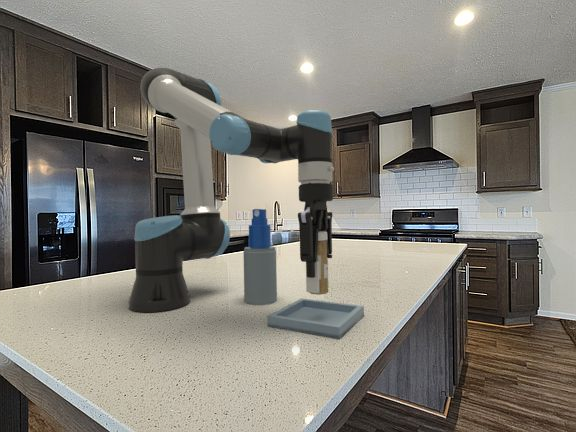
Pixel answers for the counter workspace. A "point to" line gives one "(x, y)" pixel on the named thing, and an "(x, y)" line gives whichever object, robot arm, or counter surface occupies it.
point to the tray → (317, 317)
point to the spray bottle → (260, 263)
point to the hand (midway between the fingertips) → (317, 289)
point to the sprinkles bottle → (322, 263)
